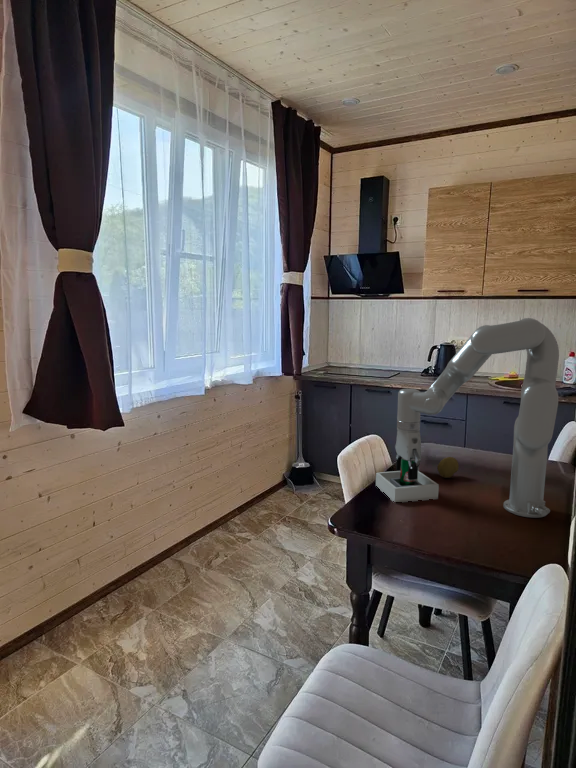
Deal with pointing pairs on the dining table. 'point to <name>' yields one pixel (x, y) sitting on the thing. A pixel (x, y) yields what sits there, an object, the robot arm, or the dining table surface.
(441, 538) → the dining table surface
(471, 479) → the dining table surface
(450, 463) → the potato
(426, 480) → the walled box
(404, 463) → the soda can
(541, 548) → the dining table surface
